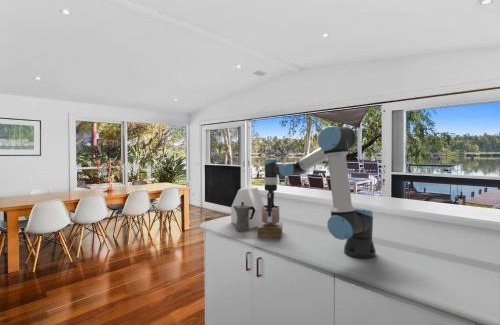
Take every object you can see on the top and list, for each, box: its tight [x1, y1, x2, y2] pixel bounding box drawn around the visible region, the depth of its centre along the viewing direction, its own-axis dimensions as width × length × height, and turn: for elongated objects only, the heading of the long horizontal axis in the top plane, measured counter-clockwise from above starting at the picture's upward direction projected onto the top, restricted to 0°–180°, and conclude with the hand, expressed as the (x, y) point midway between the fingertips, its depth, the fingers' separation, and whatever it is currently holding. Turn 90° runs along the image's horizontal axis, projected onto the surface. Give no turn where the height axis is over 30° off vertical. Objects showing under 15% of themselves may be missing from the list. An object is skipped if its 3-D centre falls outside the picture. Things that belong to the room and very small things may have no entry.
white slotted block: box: [230, 186, 265, 229], centre depth 208 cm, size 19×15×25 cm
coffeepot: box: [233, 202, 255, 232], centre depth 193 cm, size 15×9×18 cm, turn 69°
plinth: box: [257, 221, 283, 240], centre depth 183 cm, size 14×14×6 cm
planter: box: [262, 204, 280, 224], centre depth 182 cm, size 11×11×10 cm
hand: (270, 219), depth 183 cm, fingers open, 11 cm apart
